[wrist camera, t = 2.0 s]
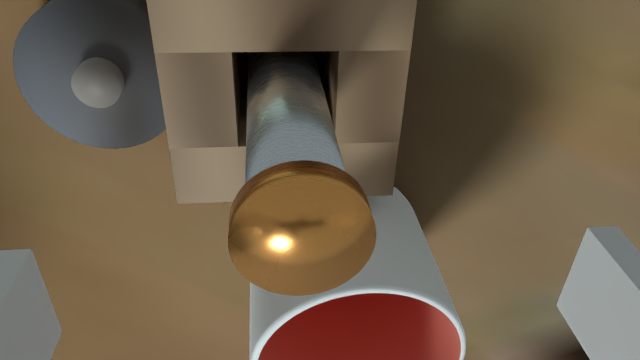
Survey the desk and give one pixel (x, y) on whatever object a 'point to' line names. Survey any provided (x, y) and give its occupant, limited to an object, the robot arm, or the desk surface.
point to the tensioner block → (214, 78)
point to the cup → (367, 304)
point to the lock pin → (296, 186)
